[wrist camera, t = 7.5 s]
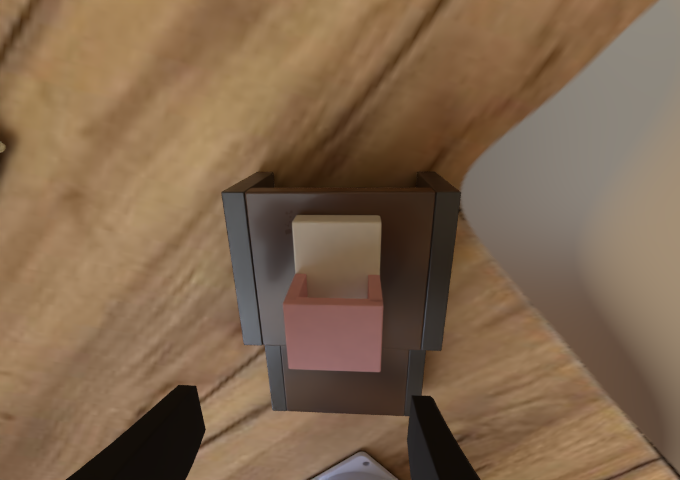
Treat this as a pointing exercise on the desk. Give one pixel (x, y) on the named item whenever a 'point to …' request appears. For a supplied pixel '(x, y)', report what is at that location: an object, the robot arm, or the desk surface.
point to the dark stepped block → (395, 275)
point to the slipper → (335, 294)
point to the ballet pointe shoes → (2, 147)
